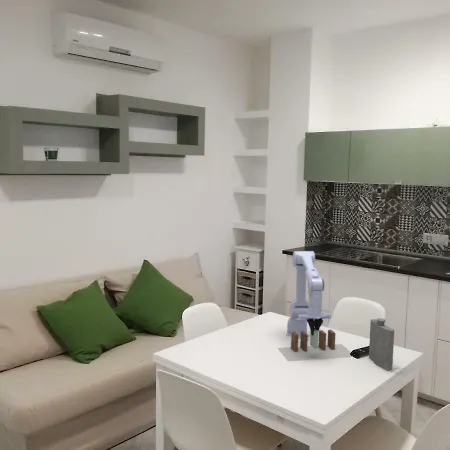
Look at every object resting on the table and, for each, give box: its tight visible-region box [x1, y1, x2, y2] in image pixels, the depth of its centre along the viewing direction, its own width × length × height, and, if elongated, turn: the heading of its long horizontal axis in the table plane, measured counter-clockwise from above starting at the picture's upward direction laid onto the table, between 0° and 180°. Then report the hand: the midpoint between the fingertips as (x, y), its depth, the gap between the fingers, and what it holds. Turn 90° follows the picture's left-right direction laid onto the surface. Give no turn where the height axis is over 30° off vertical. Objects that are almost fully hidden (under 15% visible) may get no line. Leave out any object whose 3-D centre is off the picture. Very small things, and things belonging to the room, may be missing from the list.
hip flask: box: [368, 317, 395, 372], centre depth 220 cm, size 16×4×20 cm, turn 14°
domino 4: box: [326, 329, 336, 350], centre depth 238 cm, size 2×5×8 cm, turn 11°
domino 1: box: [290, 332, 299, 352], centre depth 235 cm, size 2×5×8 cm, turn 11°
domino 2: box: [299, 331, 309, 352], centre depth 235 cm, size 2×5×8 cm, turn 12°
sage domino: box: [309, 327, 319, 349], centre depth 226 cm, size 2×5×8 cm, turn 13°
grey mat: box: [277, 343, 353, 362], centre depth 233 cm, size 32×16×1 cm, turn 101°
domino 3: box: [318, 329, 327, 351], centre depth 237 cm, size 2×5×8 cm, turn 11°
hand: (314, 334), depth 226 cm, fingers closed on sage domino, 1 cm apart
